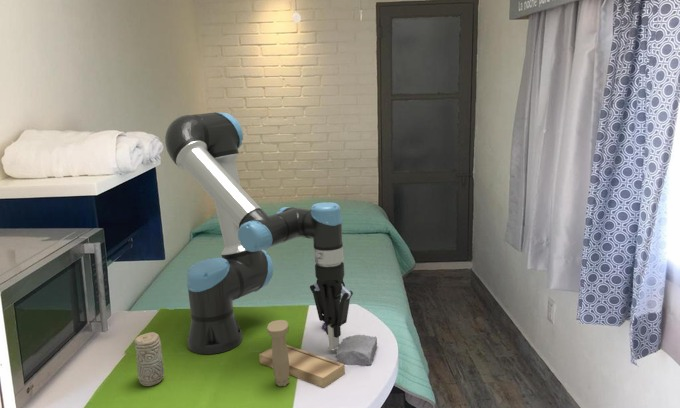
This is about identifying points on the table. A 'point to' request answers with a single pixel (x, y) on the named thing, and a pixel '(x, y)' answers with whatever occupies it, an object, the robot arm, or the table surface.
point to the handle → (279, 351)
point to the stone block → (357, 350)
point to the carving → (149, 359)
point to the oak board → (308, 366)
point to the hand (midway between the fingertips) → (334, 347)
